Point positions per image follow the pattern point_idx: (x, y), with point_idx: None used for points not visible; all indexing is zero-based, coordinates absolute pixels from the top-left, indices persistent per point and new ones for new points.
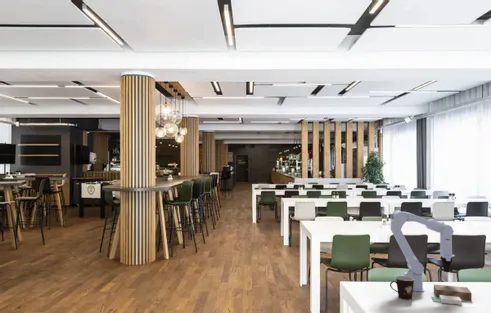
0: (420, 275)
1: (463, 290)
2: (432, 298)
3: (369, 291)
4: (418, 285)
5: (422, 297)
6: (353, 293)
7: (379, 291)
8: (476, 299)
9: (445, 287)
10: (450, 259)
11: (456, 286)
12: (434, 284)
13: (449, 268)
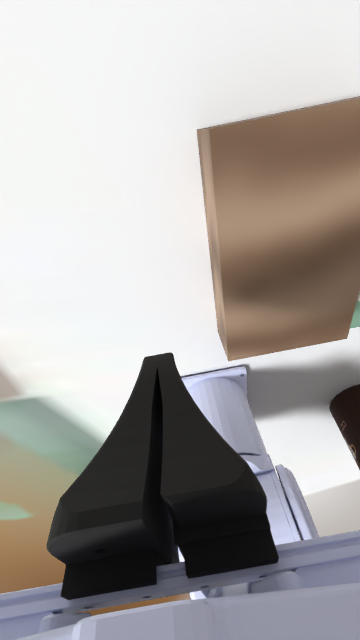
0: (260, 451)
1: (335, 169)
2: (354, 326)
3: (300, 472)
4: (248, 405)
5: (333, 359)
6: (330, 486)
7: (291, 458)
8: (303, 40)
9: (280, 300)
10: (200, 513)
11: (219, 230)
12: (229, 357)
13: (179, 376)
